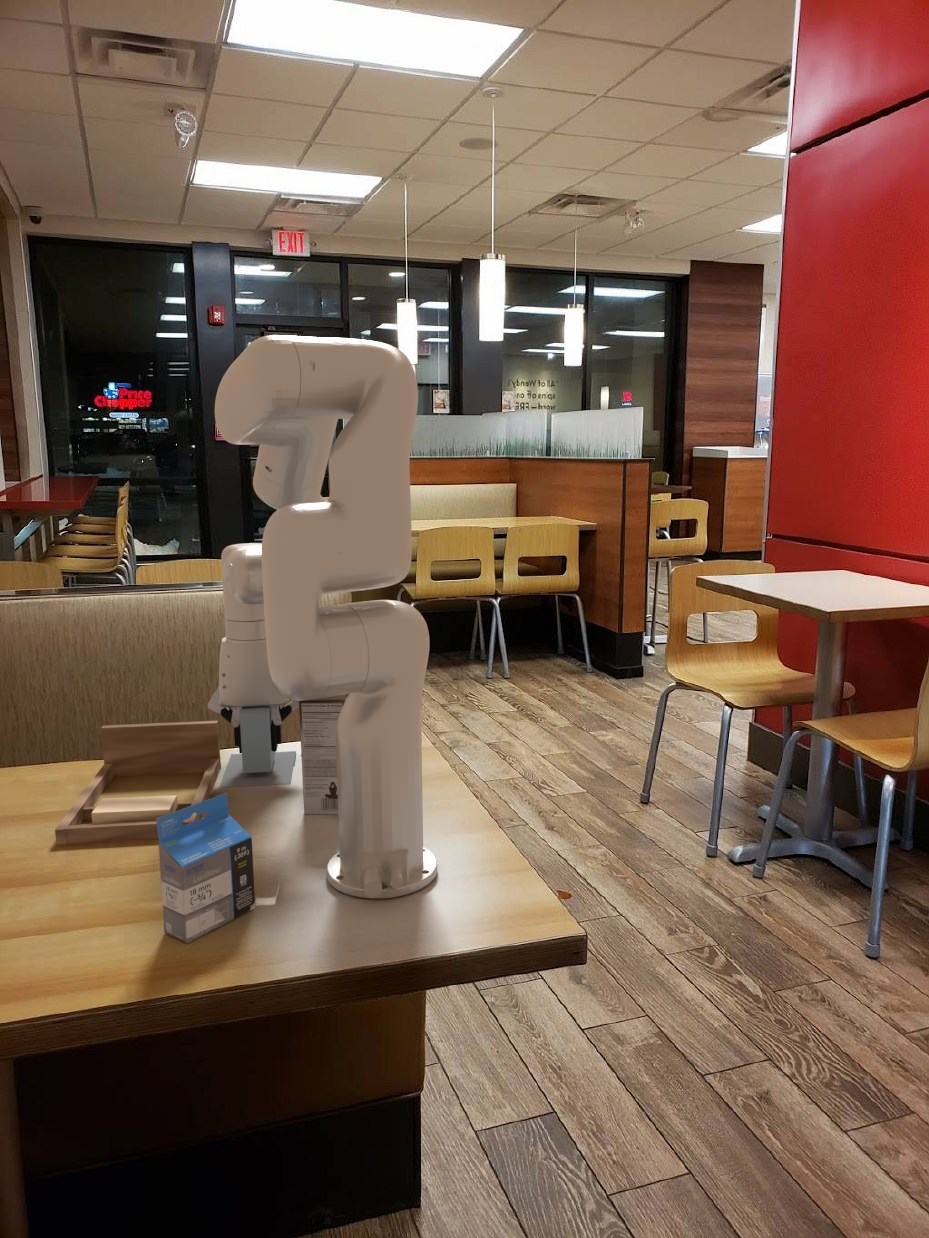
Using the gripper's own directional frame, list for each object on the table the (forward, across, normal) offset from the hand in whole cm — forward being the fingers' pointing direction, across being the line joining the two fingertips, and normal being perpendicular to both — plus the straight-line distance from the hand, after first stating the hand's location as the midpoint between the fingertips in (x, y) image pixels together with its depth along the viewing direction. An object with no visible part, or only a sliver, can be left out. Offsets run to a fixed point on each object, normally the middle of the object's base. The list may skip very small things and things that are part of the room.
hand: (258, 748), depth 135 cm
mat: (+4, 0, 0) cm, 4 cm away
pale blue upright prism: (+2, 0, 0) cm, 2 cm away
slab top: (+2, +14, +19) cm, 23 cm away
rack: (+4, +14, +11) cm, 18 cm away
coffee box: (+4, -11, +13) cm, 17 cm away
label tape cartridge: (+4, +1, +43) cm, 43 cm away
